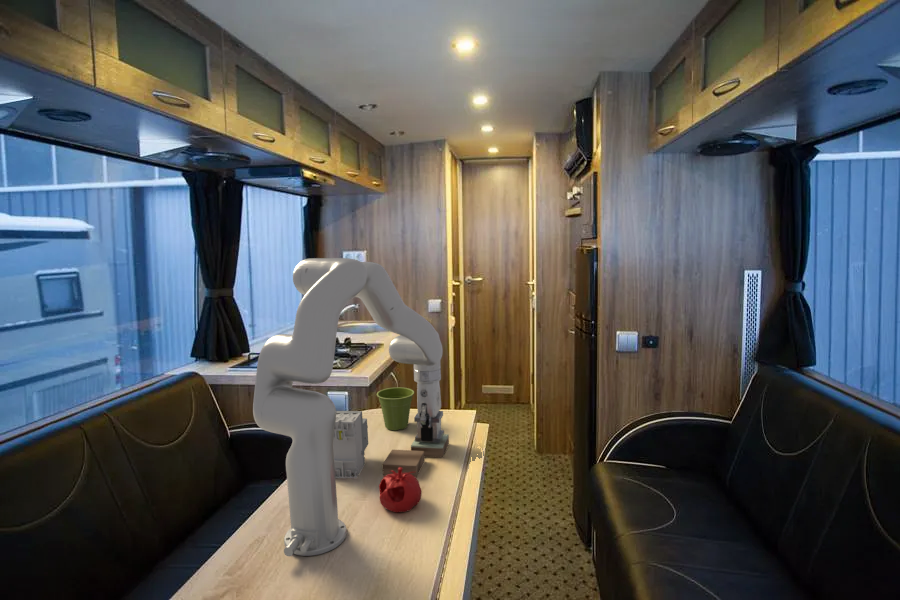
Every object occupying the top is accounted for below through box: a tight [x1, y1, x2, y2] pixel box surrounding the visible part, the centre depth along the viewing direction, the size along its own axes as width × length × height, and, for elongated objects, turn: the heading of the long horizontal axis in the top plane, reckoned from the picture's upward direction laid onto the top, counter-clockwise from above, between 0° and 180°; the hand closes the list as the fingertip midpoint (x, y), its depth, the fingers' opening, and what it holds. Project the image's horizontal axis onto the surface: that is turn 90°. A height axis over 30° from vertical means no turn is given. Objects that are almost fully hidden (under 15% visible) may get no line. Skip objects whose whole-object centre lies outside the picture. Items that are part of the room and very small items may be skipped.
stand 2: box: [410, 433, 450, 458], centre depth 152 cm, size 9×9×3 cm
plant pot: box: [376, 386, 415, 431], centre depth 169 cm, size 12×12×11 cm
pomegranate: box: [378, 467, 422, 513], centre depth 122 cm, size 10×10×9 cm
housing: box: [413, 410, 445, 443], centre depth 151 cm, size 6×7×7 cm
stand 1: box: [381, 449, 426, 478], centre depth 141 cm, size 9×9×3 cm
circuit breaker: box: [333, 410, 369, 479], centre depth 143 cm, size 8×14×15 cm, turn 174°
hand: (429, 435), depth 151 cm, fingers closed on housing, 6 cm apart
